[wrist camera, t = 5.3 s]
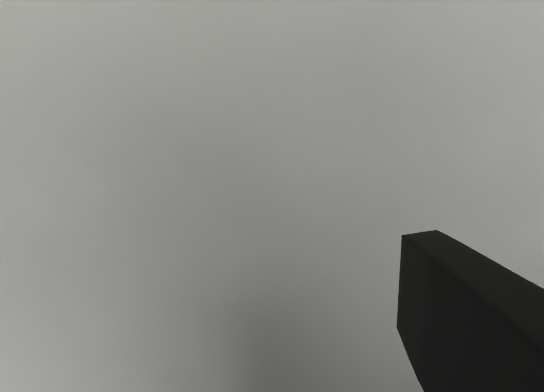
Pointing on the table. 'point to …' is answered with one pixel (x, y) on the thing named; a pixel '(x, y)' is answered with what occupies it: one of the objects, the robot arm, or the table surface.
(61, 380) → the table surface
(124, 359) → the table surface
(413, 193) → the table surface
